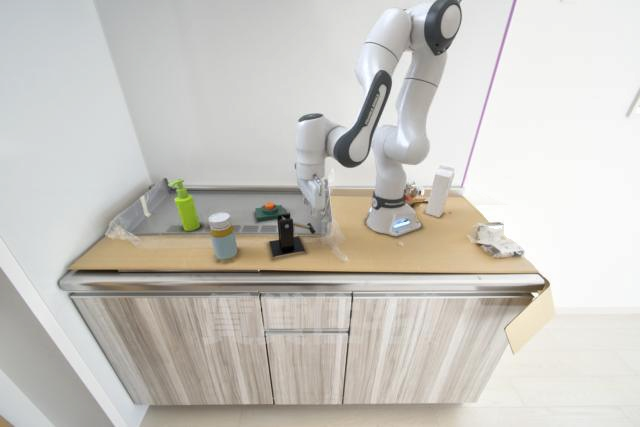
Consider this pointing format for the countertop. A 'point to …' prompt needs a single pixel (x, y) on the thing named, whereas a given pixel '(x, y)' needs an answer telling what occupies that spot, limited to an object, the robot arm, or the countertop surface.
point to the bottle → (223, 236)
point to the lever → (302, 225)
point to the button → (269, 206)
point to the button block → (268, 213)
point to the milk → (440, 191)
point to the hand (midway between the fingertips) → (310, 209)
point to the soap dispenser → (186, 207)
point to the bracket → (285, 238)
